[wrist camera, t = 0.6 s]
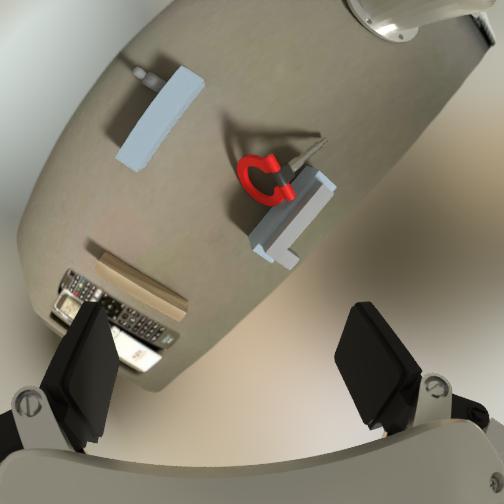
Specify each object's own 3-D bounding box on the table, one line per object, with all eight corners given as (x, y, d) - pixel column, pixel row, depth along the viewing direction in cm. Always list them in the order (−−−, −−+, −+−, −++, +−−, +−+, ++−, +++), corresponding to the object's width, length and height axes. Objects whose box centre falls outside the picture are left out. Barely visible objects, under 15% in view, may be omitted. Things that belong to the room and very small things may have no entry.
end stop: (105, 250, 34) (98, 260, 32) (188, 300, 40) (187, 312, 37) (100, 261, 35) (93, 271, 32) (181, 309, 40) (179, 322, 37)
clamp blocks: (159, 57, 25) (149, 43, 20) (330, 186, 35) (351, 198, 30) (102, 138, 28) (81, 141, 23) (273, 254, 38) (284, 276, 33)
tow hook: (226, 164, 32) (264, 151, 26) (278, 128, 36) (317, 115, 30) (254, 209, 35) (295, 206, 29) (300, 168, 39) (340, 161, 33)
